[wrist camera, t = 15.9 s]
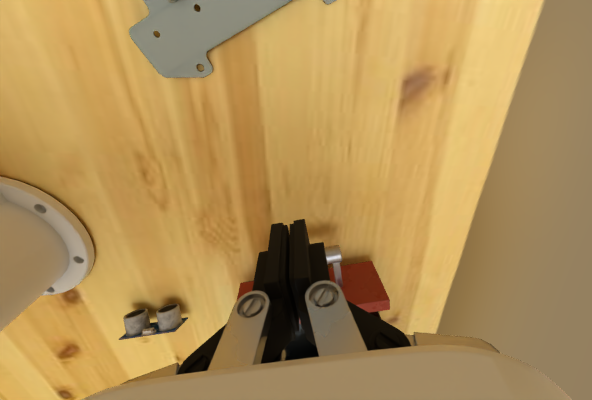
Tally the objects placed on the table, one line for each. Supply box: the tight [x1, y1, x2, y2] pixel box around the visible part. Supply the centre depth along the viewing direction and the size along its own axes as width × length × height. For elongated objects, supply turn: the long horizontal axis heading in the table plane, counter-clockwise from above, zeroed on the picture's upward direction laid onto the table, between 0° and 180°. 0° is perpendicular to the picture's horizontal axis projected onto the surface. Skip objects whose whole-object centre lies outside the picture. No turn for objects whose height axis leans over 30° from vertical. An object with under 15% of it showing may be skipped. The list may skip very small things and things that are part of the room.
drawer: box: [237, 245, 390, 361], centre depth 26 cm, size 21×13×5 cm, turn 11°
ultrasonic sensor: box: [119, 304, 188, 340], centre depth 27 cm, size 6×2×3 cm, turn 100°
